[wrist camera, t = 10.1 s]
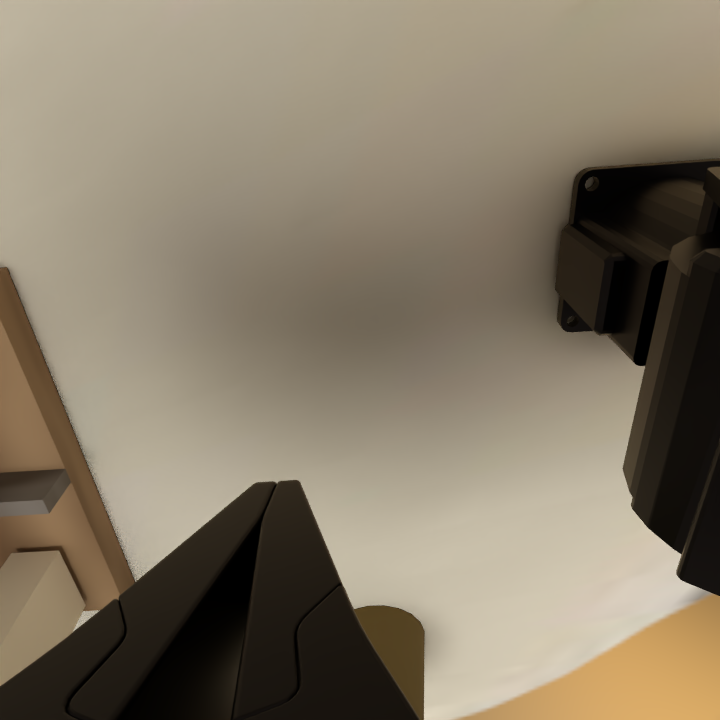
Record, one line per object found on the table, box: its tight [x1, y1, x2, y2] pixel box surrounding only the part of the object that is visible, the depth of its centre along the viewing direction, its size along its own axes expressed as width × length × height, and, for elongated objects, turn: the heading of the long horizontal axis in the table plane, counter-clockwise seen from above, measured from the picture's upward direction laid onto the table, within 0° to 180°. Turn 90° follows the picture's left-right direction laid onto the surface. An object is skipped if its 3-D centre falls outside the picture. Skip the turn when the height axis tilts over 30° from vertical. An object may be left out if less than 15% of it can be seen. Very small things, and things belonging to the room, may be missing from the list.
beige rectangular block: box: [0, 550, 86, 686], centre depth 23 cm, size 3×4×9 cm, turn 4°
